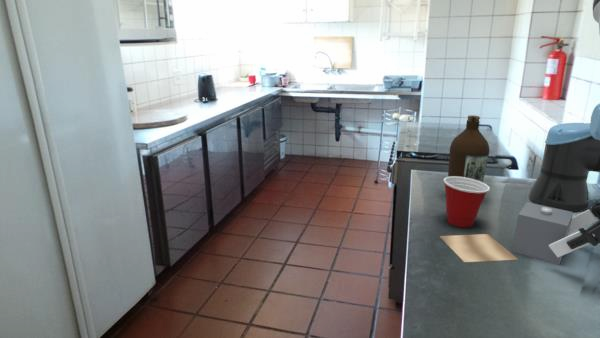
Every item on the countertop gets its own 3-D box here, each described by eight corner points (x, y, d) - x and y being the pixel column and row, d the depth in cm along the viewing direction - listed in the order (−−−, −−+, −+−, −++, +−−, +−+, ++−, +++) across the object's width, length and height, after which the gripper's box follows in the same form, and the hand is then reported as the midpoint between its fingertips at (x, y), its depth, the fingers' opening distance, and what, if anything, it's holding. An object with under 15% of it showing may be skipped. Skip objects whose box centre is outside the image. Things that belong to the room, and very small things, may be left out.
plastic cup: (487, 238, 99) (495, 191, 95) (440, 233, 101) (446, 187, 97) (478, 219, 109) (485, 176, 105) (436, 216, 111) (441, 173, 107)
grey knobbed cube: (519, 241, 97) (527, 198, 94) (564, 253, 92) (574, 207, 89) (510, 256, 90) (519, 209, 87) (558, 269, 85) (568, 221, 82)
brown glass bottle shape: (437, 193, 127) (446, 113, 120) (467, 191, 130) (478, 112, 122) (457, 206, 117) (468, 120, 110) (489, 203, 120) (503, 118, 112)
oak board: (486, 238, 98) (487, 234, 98) (517, 264, 87) (518, 259, 87) (438, 240, 97) (439, 236, 97) (463, 267, 86) (464, 262, 85)
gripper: (692, 227, 64) (561, 279, 77) (683, 187, 82) (579, 234, 96) (656, 188, 65) (534, 245, 79) (655, 157, 84) (557, 207, 97)
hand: (558, 239), depth 87 cm, fingers open, 13 cm apart
